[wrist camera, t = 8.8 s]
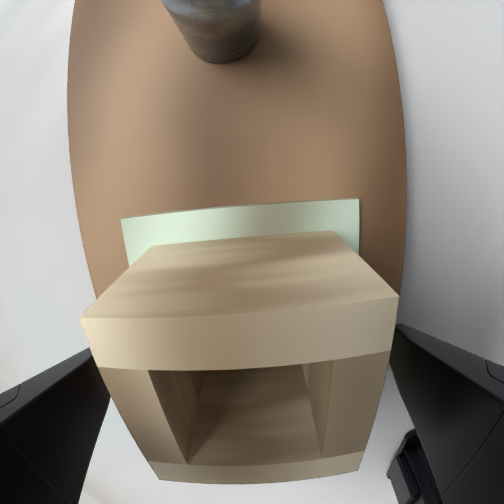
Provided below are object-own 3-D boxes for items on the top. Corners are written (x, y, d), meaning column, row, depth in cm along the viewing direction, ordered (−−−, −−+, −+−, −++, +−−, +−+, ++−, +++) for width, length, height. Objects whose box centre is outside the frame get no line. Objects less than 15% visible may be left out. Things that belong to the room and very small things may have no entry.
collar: (332, 230, 10) (399, 296, 5) (328, 372, 11) (357, 470, 7) (152, 245, 10) (78, 317, 5) (184, 382, 12) (159, 479, 7)
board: (355, -36, 8) (367, -55, 6) (372, 371, 14) (383, 393, 12) (92, -8, 8) (75, -23, 6) (143, 385, 14) (133, 408, 12)
